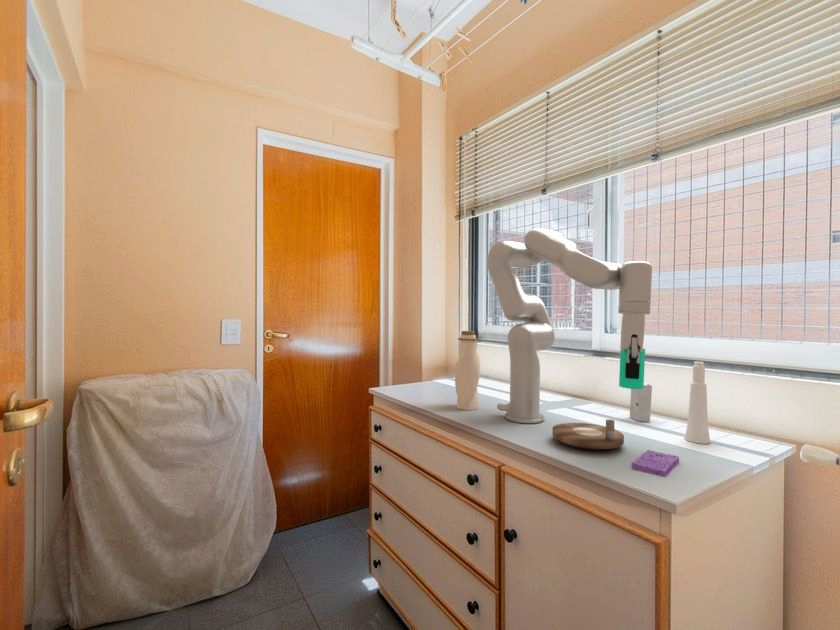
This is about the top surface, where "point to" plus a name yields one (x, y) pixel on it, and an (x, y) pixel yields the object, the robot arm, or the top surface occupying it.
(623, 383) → the candle
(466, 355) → the water bottle
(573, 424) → the turntable
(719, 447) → the top surface
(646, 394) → the skincare box
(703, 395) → the cosmetic bottle
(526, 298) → the robot arm
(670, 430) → the top surface
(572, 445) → the turntable base
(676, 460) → the sponges
